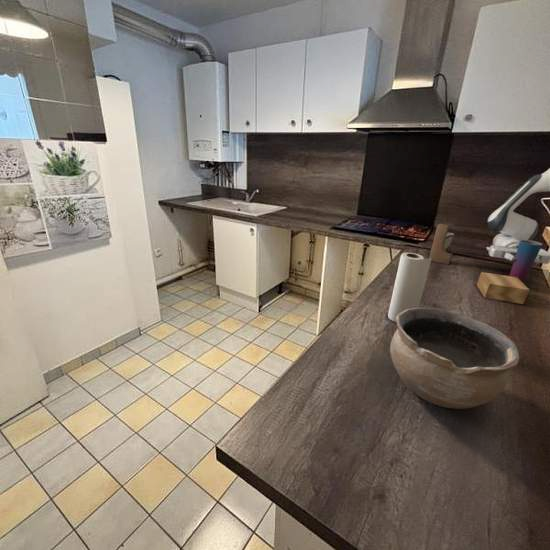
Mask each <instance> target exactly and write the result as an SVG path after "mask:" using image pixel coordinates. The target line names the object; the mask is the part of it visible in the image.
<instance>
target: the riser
mask: <svg viewBox="0 0 550 550" xmlns="http://www.w3.org/2000/svg"><path fill="white" fill-rule="evenodd" d="M476 286H477V288H478V290H479V292H480V293H481V295H482V296H483V298H484V299H489V300H496V301H503V302H508V303H514V304H519V305H520V304H521V305H524V304H525V302H526V300H527V298H528V295H529V293H530V288H528V287H527V285H525V283H523V281H520V280H519V279H518V278H517V277H512V276H510V275H503V274H498V273H490V272H483V271H481V272H480V274H479V277H478V281H477V283H476Z"/></svg>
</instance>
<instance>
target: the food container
mask: <svg viewBox="0 0 550 550" xmlns="http://www.w3.org/2000/svg"><path fill="white" fill-rule="evenodd" d="M454 235H455V233H453V232H448V233H447V236H446V240H445V243H444V249H445V251H446V252H449V250H450V247H451V244H452V241H453V238H454Z"/></svg>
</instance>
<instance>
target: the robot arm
mask: <svg viewBox="0 0 550 550" xmlns="http://www.w3.org/2000/svg"><path fill="white" fill-rule="evenodd" d="M543 192H544V193H545V192H547V193H550V168H548V169H547V170H546V171H544V172H543V173H541V174H535V175H533V176H532V177H530V178H529V179H528V180H527V181H525V182H524V183H523V184H522V185H521V186H520V187H519V188H518V189H517V190H515V192H514V193H513V194H512V195H510V197H508V198H507V200H505V202H503V204H501V205H500V206H499V207H498V208H496V209H495V210H493V212H492V213H491V214H490V215H489V216H488V217H487V221H486V222H487V226H488V228H489V230H491V231H494V232H498V233H497V234H496V235H495V236H494V237H493V239H492V245H490V246H486V247H485V249H486V250H487V251H488V255H489V256H490V257H491V258H496V259H504V260H507V261H510V262H514V261H516V259H517V257H516V253H517V249H518V246H519V242H520V240H530V241H533V239H534V238H535V237H536V236H537V234H538V232H539V223H538V221H537V220H535V219H532V218H530V217H528V216H524V215H522V214H519V213H517V212H515V211H514V210H515V209H516V208H517V207H518V206H520V204H522V203H523V202H524V201H525V200H526V199H527V198H528V197H530V195H533V194H535V193H543ZM549 263H550V252H548V251H547V250H545V249H544V248H541V249H540V251H539V253H538V255H537V257H536V259H535V261H534V263H533V264H544V265H548V264H549Z"/></svg>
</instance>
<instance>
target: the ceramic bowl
mask: <svg viewBox="0 0 550 550" xmlns="http://www.w3.org/2000/svg"><path fill="white" fill-rule="evenodd" d="M395 323H396V327H397V329H396V330H395V332H394V334H393V335H392V338H391V341H390V347H389V348H390V349H389V353H390V356H391V361H392V364H393V366H394V368H395V370H396V372H397V373H398V375H399V377H400V379H401V380H402V382H403V383H404V385H405V386H406V387H407V388H408V389H409V390H410V391H411V392H412V393H414V394H415V395H417V396H418V397H419V398H421V399H423V400H425V401H426V402H428V403H431V404H433V405H436V406H438V407H442V408H446V409H452V410H453V409H454V410H466V409H467V410H468V409H471V408H475V407H476V408H477V407H479V406H483V405H485V404H487V403H489V402H491V401H494V399H496V398H498V397H499V396H500V395H501V394H502V393H503V391H504V389H505V388H506V386H507V383H508V381H509V375H510V370H511V369H513V368H514V367H516V366H517V365H518V364H519V360H520V353H519V350H518V347H517V346H516V344H515V343H514V341H513V340H512V339H510V337H508V336H507V335H505V334H504V333H503V332H502V331H499V330H498V329H497V328H495V327H492V326H490V325H489V324H487V323H484V322H482V321H479V320H477V319H474V318H472V317H469V316H467V315H462V314H459V313H455V312H451V311H450V310H449V311H448V310H446V309H445V310H444V309H441V308H428V307H427V308H426V307H419V308H413V309H407V310H405V311H403V312H401V313H399V314H398V315H397V317H396V322H395Z"/></svg>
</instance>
